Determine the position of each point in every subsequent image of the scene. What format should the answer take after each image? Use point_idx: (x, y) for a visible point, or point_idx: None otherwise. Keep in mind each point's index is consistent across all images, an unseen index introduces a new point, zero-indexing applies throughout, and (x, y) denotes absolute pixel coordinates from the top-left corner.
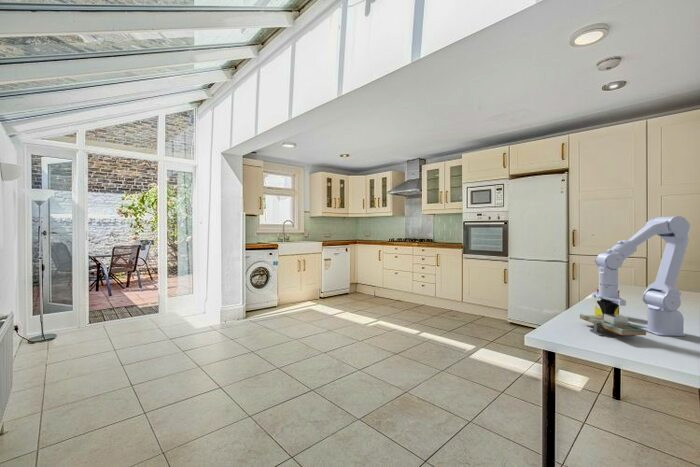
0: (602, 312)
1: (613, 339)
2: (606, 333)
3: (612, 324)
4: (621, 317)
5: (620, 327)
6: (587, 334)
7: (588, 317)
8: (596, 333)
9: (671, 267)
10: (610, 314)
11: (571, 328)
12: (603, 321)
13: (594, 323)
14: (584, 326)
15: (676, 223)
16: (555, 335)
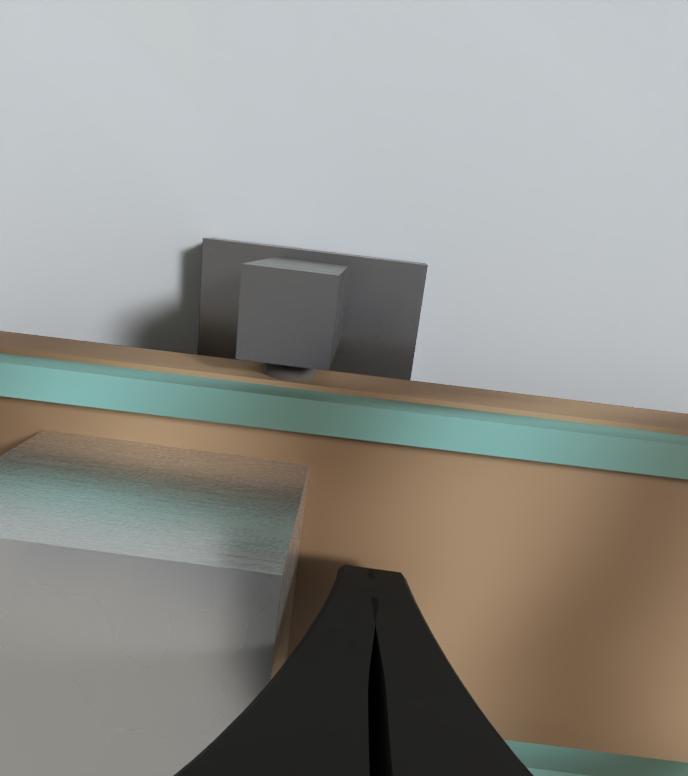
0: (431, 659)
1: (57, 310)
2: (200, 350)
3: (53, 445)
4: None
5: None
6: (277, 85)
7: (680, 442)
8: (273, 245)
9: None
10: (203, 681)
11: (615, 43)
12: (414, 545)
13: (315, 269)
14: (664, 372)
15: None
16: None
